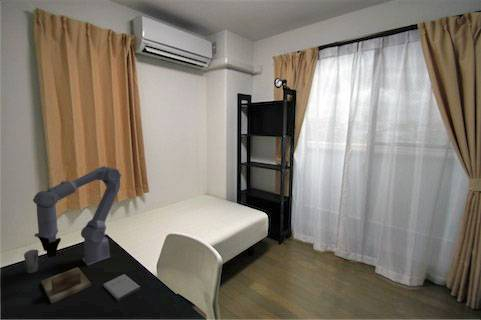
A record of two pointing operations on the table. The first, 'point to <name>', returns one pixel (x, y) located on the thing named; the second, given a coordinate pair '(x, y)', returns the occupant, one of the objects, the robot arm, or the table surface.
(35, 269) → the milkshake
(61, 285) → the block
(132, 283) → the external hard drive
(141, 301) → the table surface
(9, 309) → the table surface
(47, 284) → the board
